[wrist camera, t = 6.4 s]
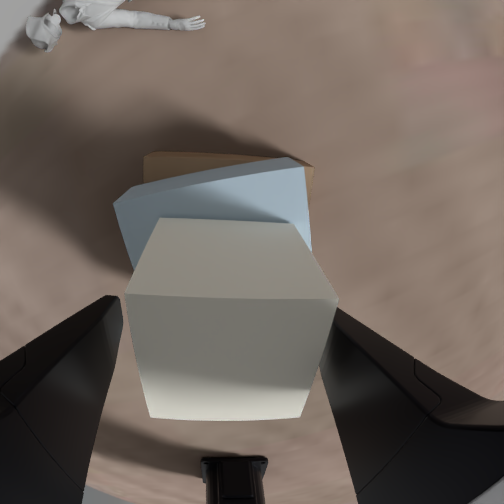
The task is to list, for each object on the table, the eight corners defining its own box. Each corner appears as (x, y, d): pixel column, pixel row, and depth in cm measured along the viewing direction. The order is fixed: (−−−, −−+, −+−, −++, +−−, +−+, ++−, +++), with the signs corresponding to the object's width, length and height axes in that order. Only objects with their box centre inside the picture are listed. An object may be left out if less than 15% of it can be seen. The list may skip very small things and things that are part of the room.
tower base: (282, 284, 17) (291, 309, 15) (157, 278, 17) (148, 304, 14) (300, 159, 15) (314, 167, 12) (156, 150, 14) (143, 156, 11)
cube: (276, 327, 12) (299, 417, 8) (165, 324, 12) (150, 417, 8) (293, 223, 10) (339, 298, 6) (159, 217, 10) (124, 293, 6)
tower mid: (301, 292, 15) (315, 323, 13) (170, 315, 15) (164, 349, 12) (287, 156, 12) (303, 166, 10) (132, 186, 12) (113, 203, 10)
